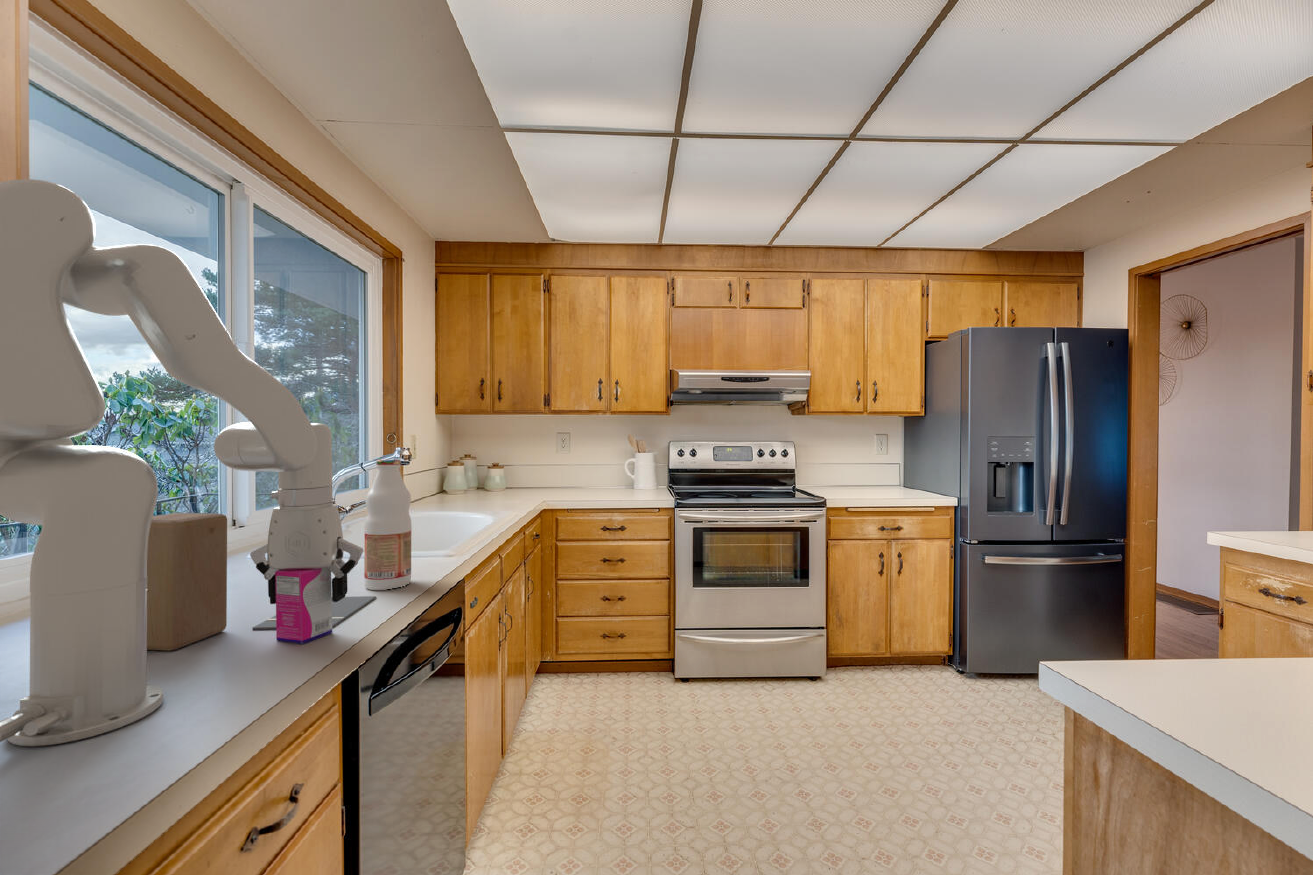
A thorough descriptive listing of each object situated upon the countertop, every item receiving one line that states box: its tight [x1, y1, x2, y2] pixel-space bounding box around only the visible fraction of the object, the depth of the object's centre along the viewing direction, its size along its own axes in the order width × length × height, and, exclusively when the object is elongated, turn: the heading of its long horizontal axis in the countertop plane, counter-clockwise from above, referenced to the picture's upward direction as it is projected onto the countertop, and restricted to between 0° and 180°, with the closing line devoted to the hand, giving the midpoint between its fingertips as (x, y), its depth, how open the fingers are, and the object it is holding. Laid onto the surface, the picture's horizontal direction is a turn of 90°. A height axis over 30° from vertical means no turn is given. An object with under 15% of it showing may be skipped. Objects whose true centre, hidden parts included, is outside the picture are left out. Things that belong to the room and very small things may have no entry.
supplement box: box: [275, 567, 333, 645], centre depth 91 cm, size 6×6×12 cm
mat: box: [252, 595, 377, 631], centre depth 104 cm, size 18×13×1 cm
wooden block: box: [147, 512, 228, 652], centre depth 89 cm, size 10×10×20 cm
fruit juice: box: [363, 459, 413, 591], centre depth 123 cm, size 9×9×28 cm
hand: (308, 600), depth 92 cm, fingers open, 9 cm apart
